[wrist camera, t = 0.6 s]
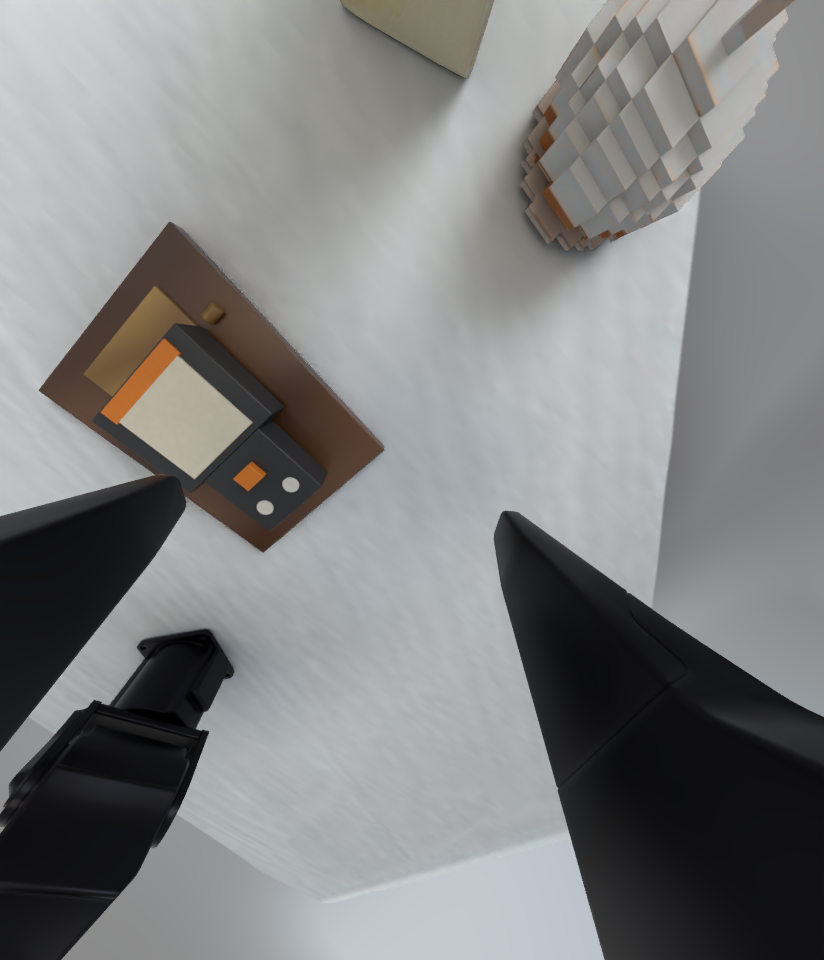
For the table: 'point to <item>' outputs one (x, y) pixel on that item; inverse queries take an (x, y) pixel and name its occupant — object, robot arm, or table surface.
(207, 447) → the penguin
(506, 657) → the table surface
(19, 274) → the table surface
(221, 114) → the table surface
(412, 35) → the toy refrigerator
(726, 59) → the decorative ornament
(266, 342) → the stand
